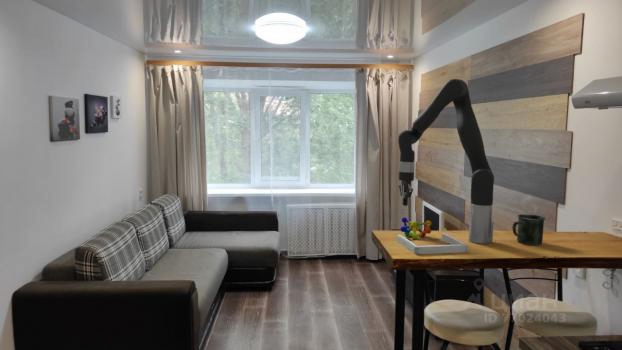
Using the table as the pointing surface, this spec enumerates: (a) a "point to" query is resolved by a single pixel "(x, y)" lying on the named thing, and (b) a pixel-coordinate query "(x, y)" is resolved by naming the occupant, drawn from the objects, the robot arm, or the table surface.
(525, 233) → the mug
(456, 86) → the robot arm
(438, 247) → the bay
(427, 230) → the decorative model
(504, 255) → the table surface
